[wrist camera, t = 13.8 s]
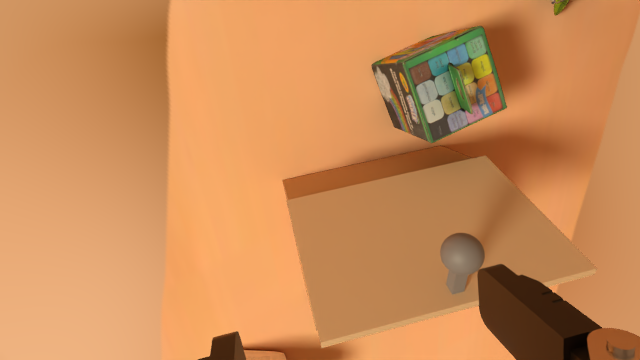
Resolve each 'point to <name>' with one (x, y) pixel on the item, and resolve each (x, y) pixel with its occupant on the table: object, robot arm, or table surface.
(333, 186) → the carton
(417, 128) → the chalk box
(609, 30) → the table surface
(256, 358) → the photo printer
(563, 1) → the green leafy plant
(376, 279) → the carton flap
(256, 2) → the table surface
